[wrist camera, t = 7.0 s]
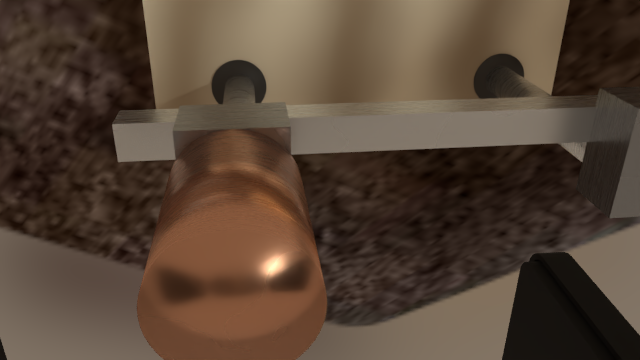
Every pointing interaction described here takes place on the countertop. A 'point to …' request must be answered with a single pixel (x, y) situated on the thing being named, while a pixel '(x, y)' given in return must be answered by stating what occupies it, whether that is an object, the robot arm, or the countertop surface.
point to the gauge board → (348, 48)
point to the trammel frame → (454, 131)
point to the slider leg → (233, 239)
